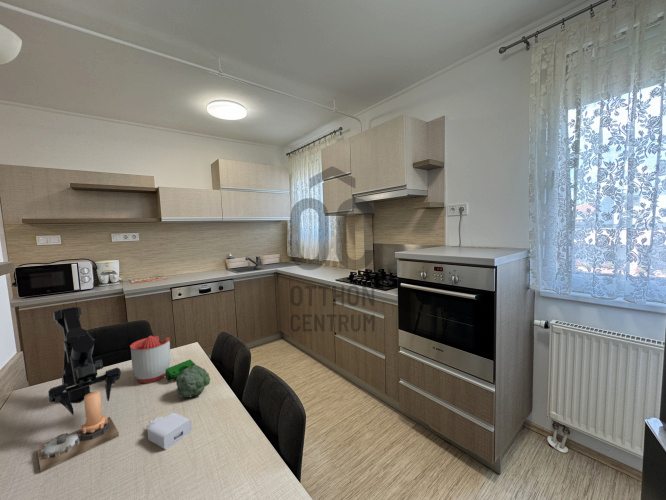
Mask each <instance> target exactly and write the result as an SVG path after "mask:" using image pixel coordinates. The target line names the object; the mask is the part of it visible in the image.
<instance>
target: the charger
mask: <svg viewBox="0 0 666 500" xmlns="http://www.w3.org/2000/svg"><path fill="white" fill-rule="evenodd" d="M148 423H149V424H148V425H147V426H146V428H147V438H148V441H150V442H151V443H153V444H155V445H157V446H158V447H160V448H163V450H167V449H168V450H169V448H170V447H172V446H173V445H175V444H176V443H178V442H179V441H181V440H183V438H185V436H187V435H189V434H190V433H191V432H192V431H193V430H192V427H193V426H192V420H191V419H188V418H187V417H184V416H183V415H180V414H178V413H176V412H171V413H169V414H168V415H165V417H164V416H158V417H157V418H156V417H155V418H153V420H152V421H148Z"/></svg>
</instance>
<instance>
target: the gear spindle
mask: <svg viewBox="0 0 666 500" xmlns="http://www.w3.org/2000/svg"><path fill="white" fill-rule="evenodd" d="M90 392H91V393H88V394H87V395H85V396H84V400H83V401H84V411H85V413H84V414H85V422H84V424H82V425H81V426H80V429H81V431H83V433H84V434H85V433H86V432H87V434H92V433H95V432H97V431H99V430H101V429H102V428H103V427H104V425H105V424H107V422H108V420H107V418H108V417H107V416H106V415H103V414H102V413H103V412H102V411H103V410H102V401H101V400H102V399H101V398H102V397H101V392H100V391H99V390H96V391H90Z"/></svg>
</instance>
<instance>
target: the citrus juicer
mask: <svg viewBox="0 0 666 500" xmlns="http://www.w3.org/2000/svg"><path fill="white" fill-rule="evenodd" d="M170 340H171V338H170V337H169V336H167V337H165V339H164V341H162V340H160V337H159V335H156V336H155V335H154V336H153V335H149V336H148V337H146V338H142V339H139V340H136V341H134V342H132V343H131V344H130V345H129V348H130V353H131V355H130V357H131V366H132V367H131V368H132V372H133V375H134V376H135V379H136V380H137V381H138V382H139V383H140V384H148V383H155V382H158V381H159V380H161V379H163V378H164V377H165V374H166V369H167V368H169V367H170V364H171V343H170Z"/></svg>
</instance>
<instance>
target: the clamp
mask: <svg viewBox="0 0 666 500" xmlns="http://www.w3.org/2000/svg"><path fill="white" fill-rule="evenodd" d="M193 365H197V364H196V363H195V362H194V361H193V360H192V359H187V360H185V361H182V362H180V363H178V364H174V365H173V366H169V368H167V369H166V374H165V379H166V380H167V381H168V382H170V381H172V380H174V379H175V380H176V378H177V377H178V376H179V375H180V374H181V373H182V371H183V370H184V369H186V368H188V367H190V366H193Z"/></svg>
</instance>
